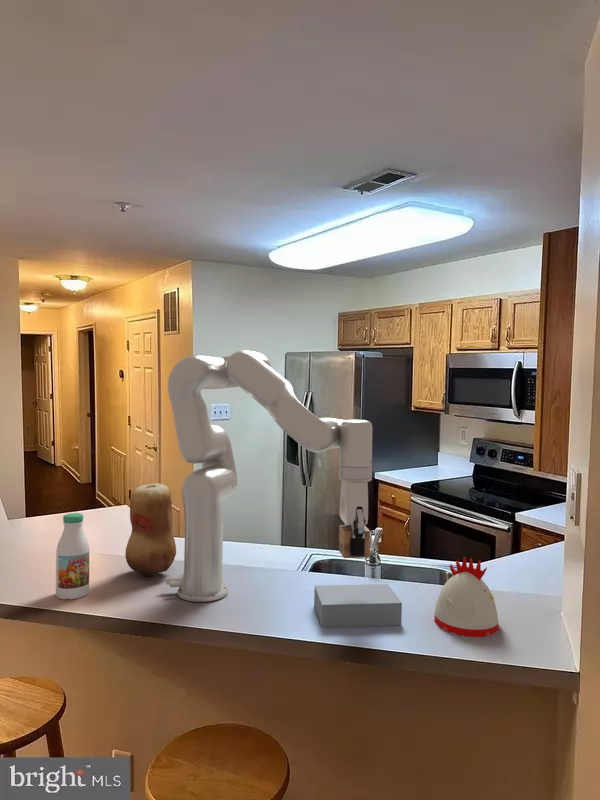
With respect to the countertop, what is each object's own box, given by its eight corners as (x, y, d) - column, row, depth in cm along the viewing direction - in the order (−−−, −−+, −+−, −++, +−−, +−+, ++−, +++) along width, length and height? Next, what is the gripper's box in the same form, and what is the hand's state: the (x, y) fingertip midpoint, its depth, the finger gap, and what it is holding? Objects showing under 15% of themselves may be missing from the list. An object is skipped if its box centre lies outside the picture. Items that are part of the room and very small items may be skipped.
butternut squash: (114, 579, 152) (115, 486, 151) (141, 564, 165) (142, 479, 164) (161, 585, 148) (162, 490, 148) (185, 569, 161) (186, 482, 161)
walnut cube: (343, 558, 128) (344, 531, 128) (338, 550, 134) (339, 525, 134) (369, 557, 128) (370, 531, 128) (363, 549, 134) (364, 524, 134)
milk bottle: (48, 597, 139) (49, 516, 138) (72, 587, 146) (72, 509, 145) (73, 602, 136) (73, 519, 135) (95, 591, 143) (96, 513, 142)
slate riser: (321, 627, 125) (322, 604, 125) (314, 606, 137) (314, 585, 136) (401, 625, 127) (401, 602, 127) (387, 604, 139) (387, 584, 138)
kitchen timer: (489, 643, 119) (491, 572, 118) (425, 627, 126) (427, 560, 126) (504, 620, 131) (506, 555, 130) (445, 607, 138) (447, 545, 138)
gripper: (332, 468, 139) (331, 541, 139) (346, 479, 122) (345, 563, 122) (362, 468, 140) (361, 540, 140) (380, 479, 122) (379, 562, 123)
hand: (354, 550), depth 131 cm, fingers closed on walnut cube, 6 cm apart
